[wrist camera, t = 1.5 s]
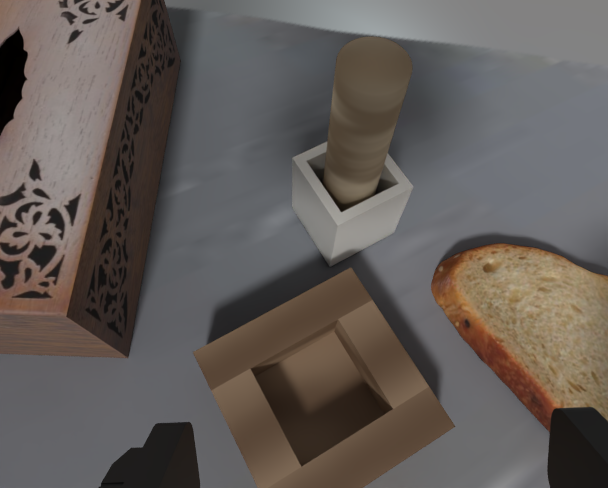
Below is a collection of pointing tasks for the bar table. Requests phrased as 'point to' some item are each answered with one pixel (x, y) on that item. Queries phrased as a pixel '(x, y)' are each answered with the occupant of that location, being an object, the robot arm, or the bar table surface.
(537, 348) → the bread slice
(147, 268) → the bar table surface
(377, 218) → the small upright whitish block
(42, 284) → the tissue box cover
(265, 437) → the socket block
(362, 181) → the dowel
